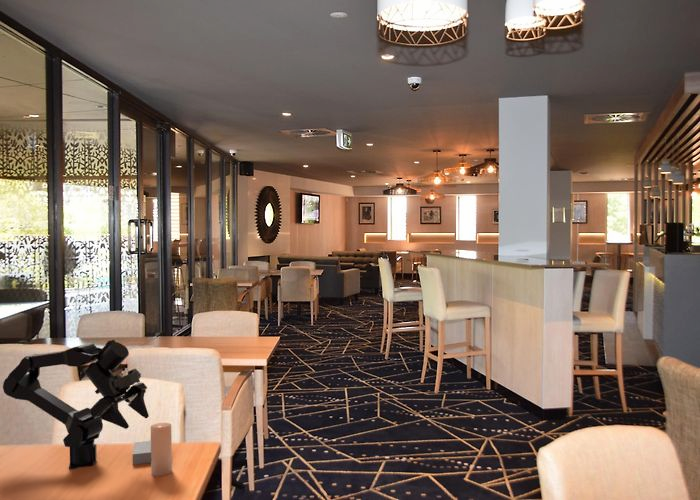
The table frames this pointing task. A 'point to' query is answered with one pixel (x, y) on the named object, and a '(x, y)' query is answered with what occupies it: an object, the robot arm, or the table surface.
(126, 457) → the table surface
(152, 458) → the terracotta column
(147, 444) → the charcoal plinth
